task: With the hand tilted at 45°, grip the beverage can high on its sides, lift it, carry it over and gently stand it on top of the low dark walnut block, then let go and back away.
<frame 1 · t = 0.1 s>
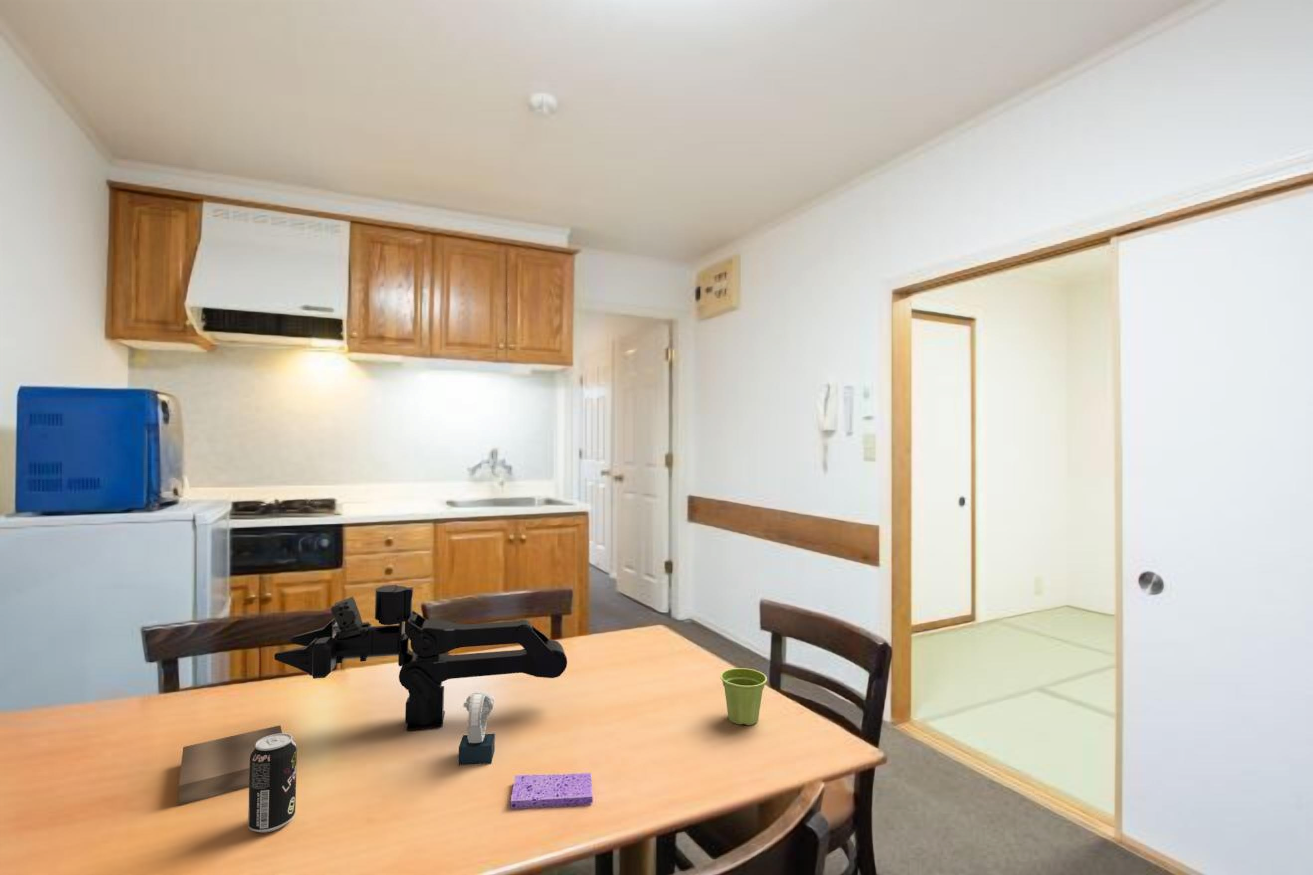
hand: (283, 647, 111), 17 cm above the table, tool horizontal, fingers open, 9 cm apart
beverage can: (271, 824, 86), on the table
plant pot: (742, 720, 121), on the table
walnut block: (234, 770, 99), on the table
watch: (476, 758, 105), on the table
sponges: (552, 797, 95), on the table
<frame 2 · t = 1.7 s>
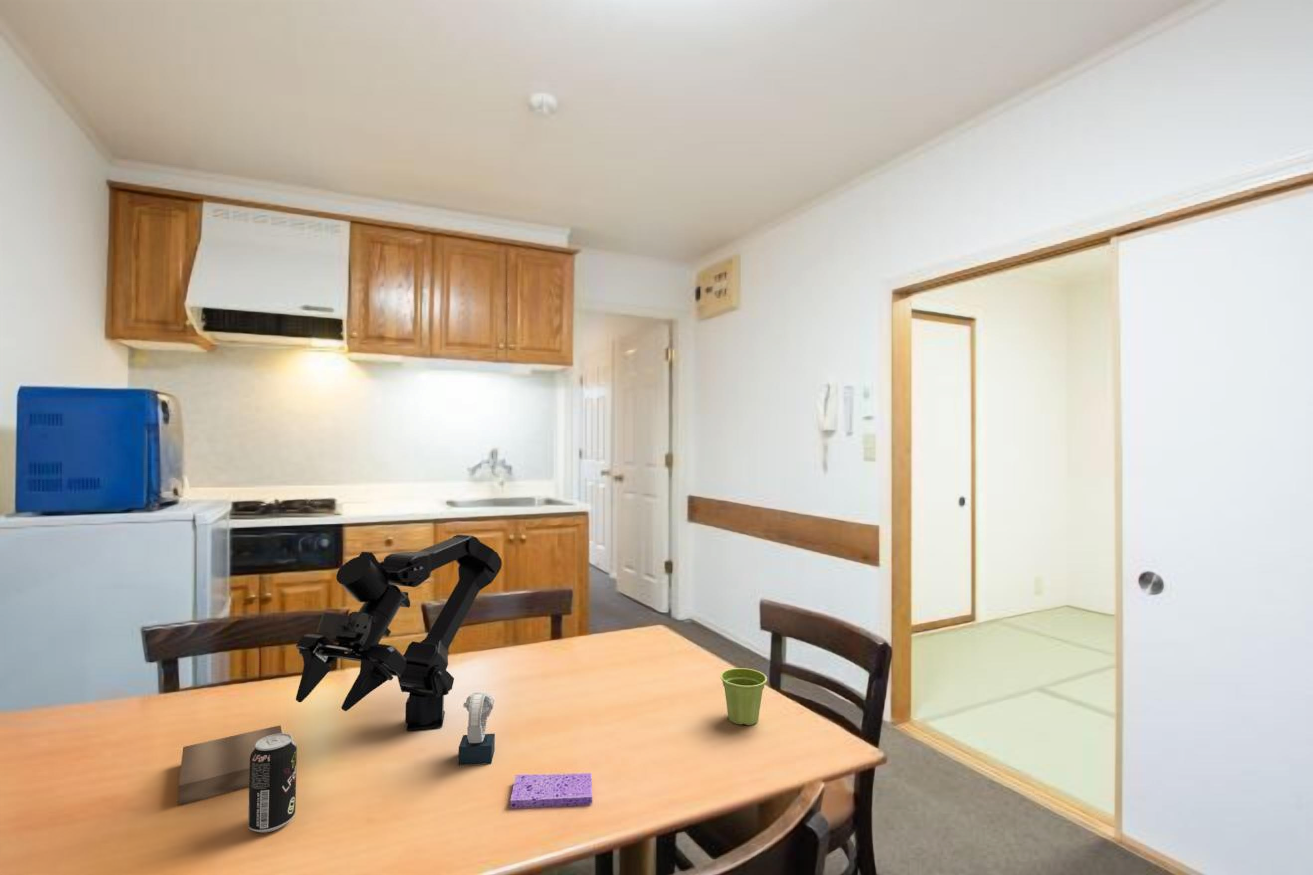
hand: (320, 705, 94), 14 cm above the table, tool tilted 45°, fingers open, 9 cm apart
nothing on the table moved.
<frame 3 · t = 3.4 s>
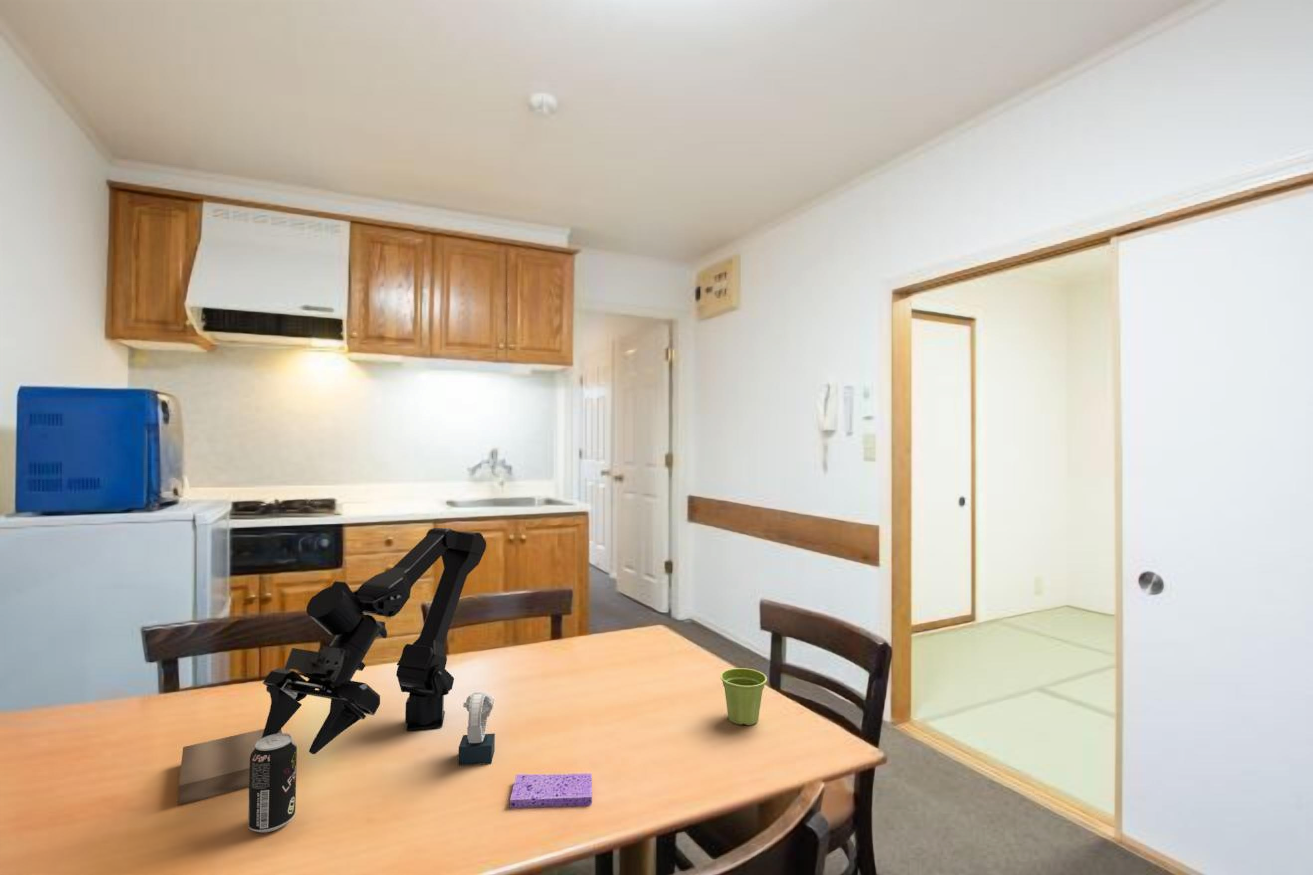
hand: (287, 747, 88), 10 cm above the table, tool tilted 45°, fingers open, 9 cm apart
nothing on the table moved.
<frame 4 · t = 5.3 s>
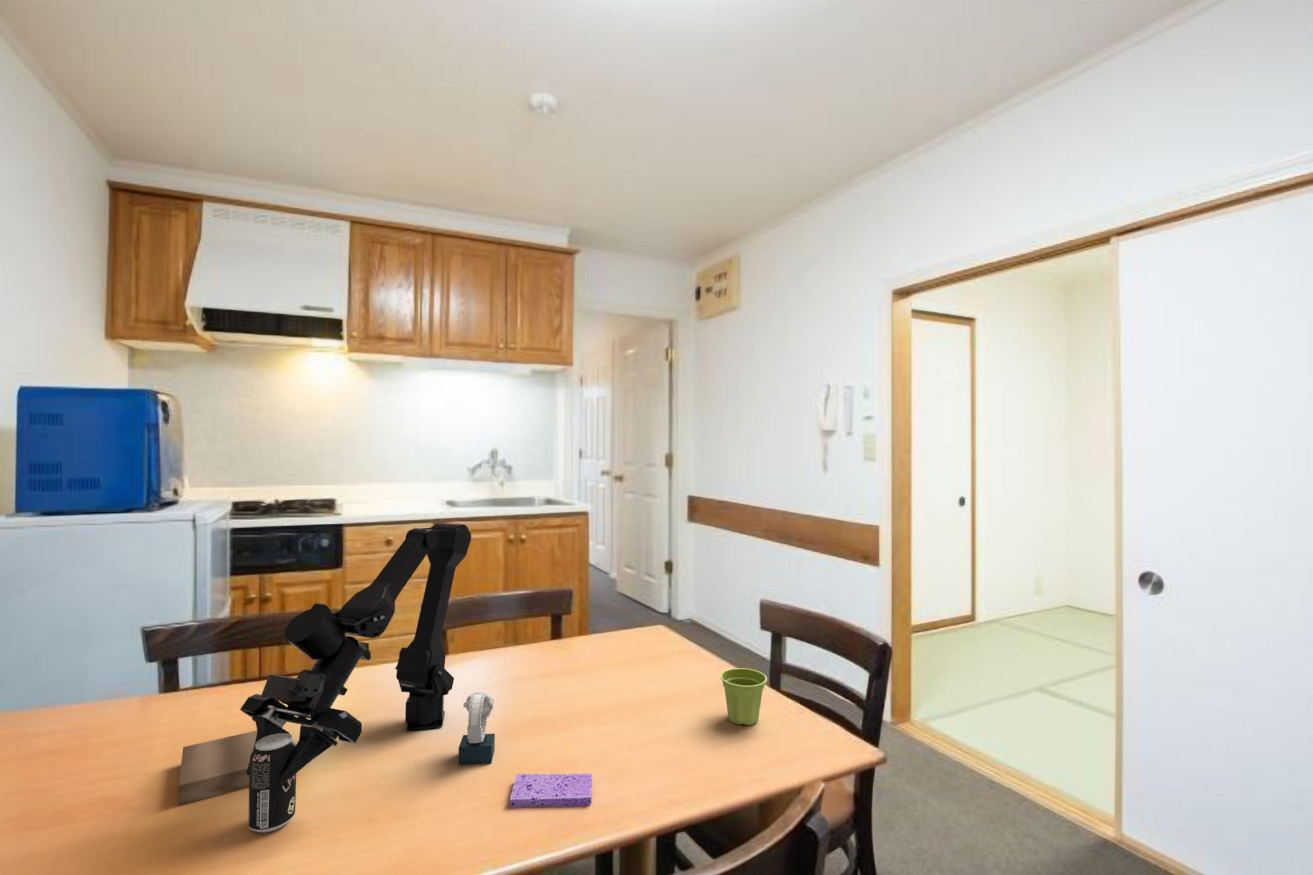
hand: (264, 779, 85), 7 cm above the table, tool tilted 45°, fingers closed on beverage can, 5 cm apart
beverage can: (271, 824, 86), on the table, touching gripper
everything else where it was.
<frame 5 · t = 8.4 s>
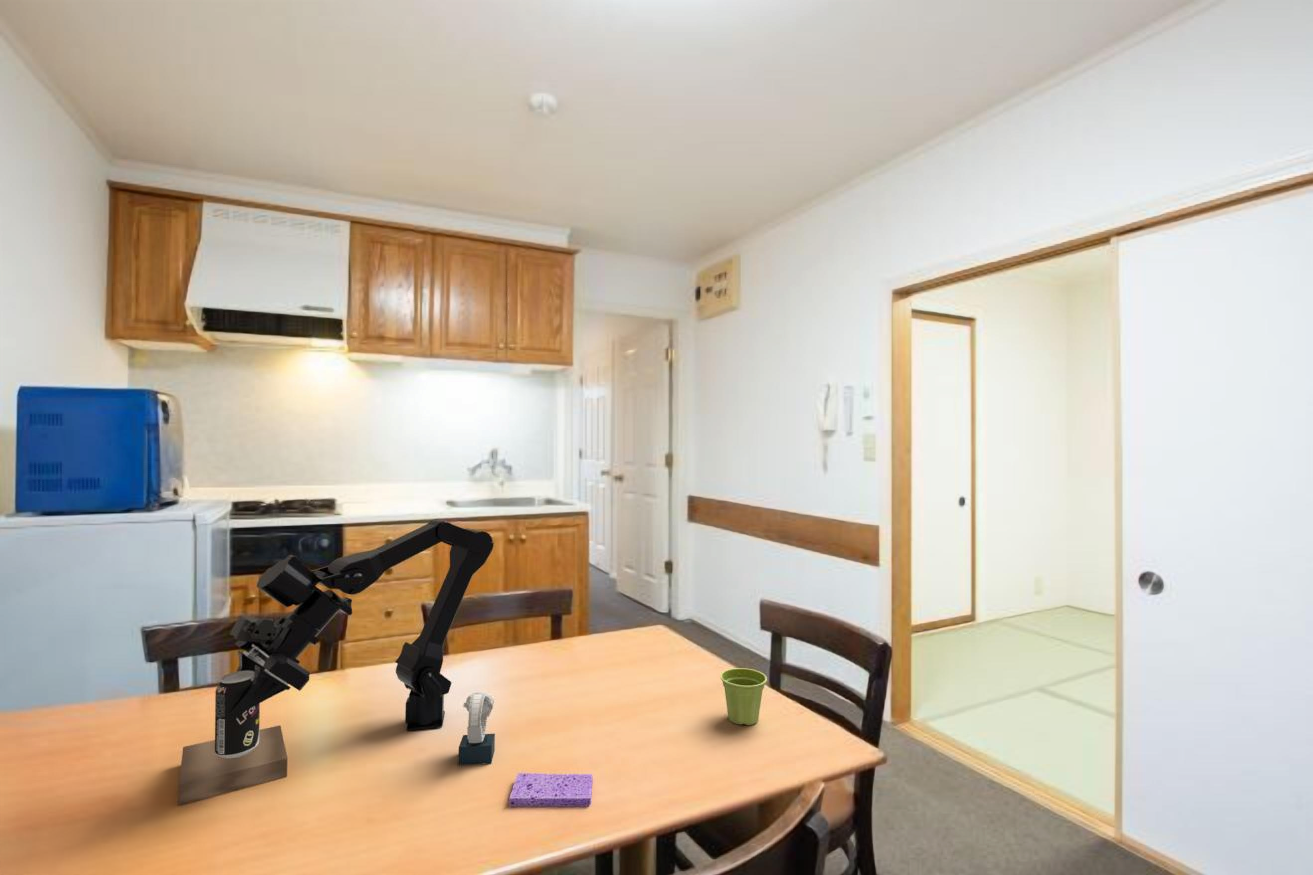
hand: (227, 708, 93), 13 cm above the table, tool tilted 45°, fingers closed on beverage can, 5 cm apart
beverage can: (237, 752, 94), point 6 cm above the table, touching gripper
everything else where it was.
when the fingers open (10 cm above the table, at t = 11.4 s): beverage can stays where it is, resting on walnut block.
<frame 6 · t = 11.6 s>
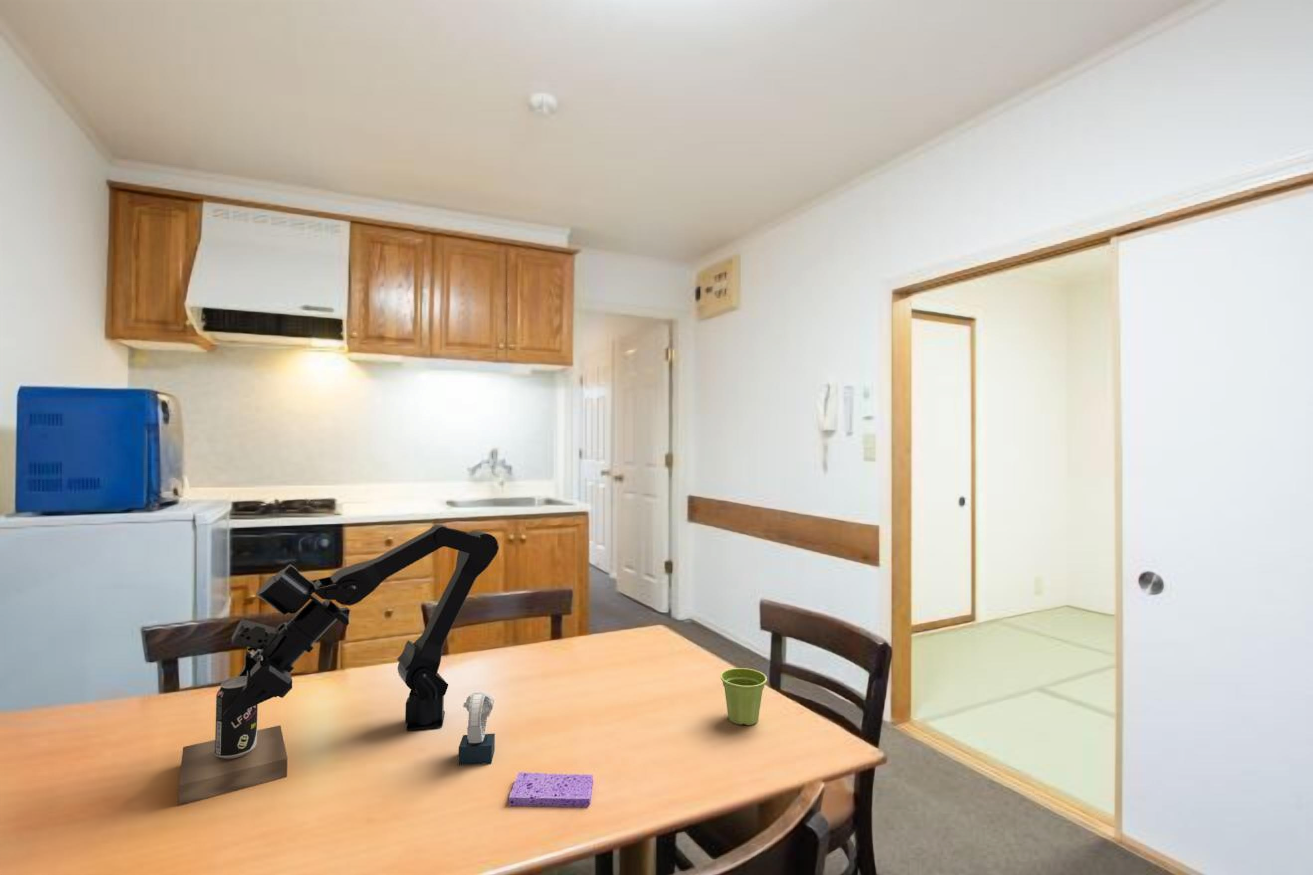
hand: (225, 708, 99), 11 cm above the table, tool tilted 45°, fingers open, 7 cm apart
beverage can: (236, 753, 99), point 3 cm above the table, touching walnut block
everything else where it was.
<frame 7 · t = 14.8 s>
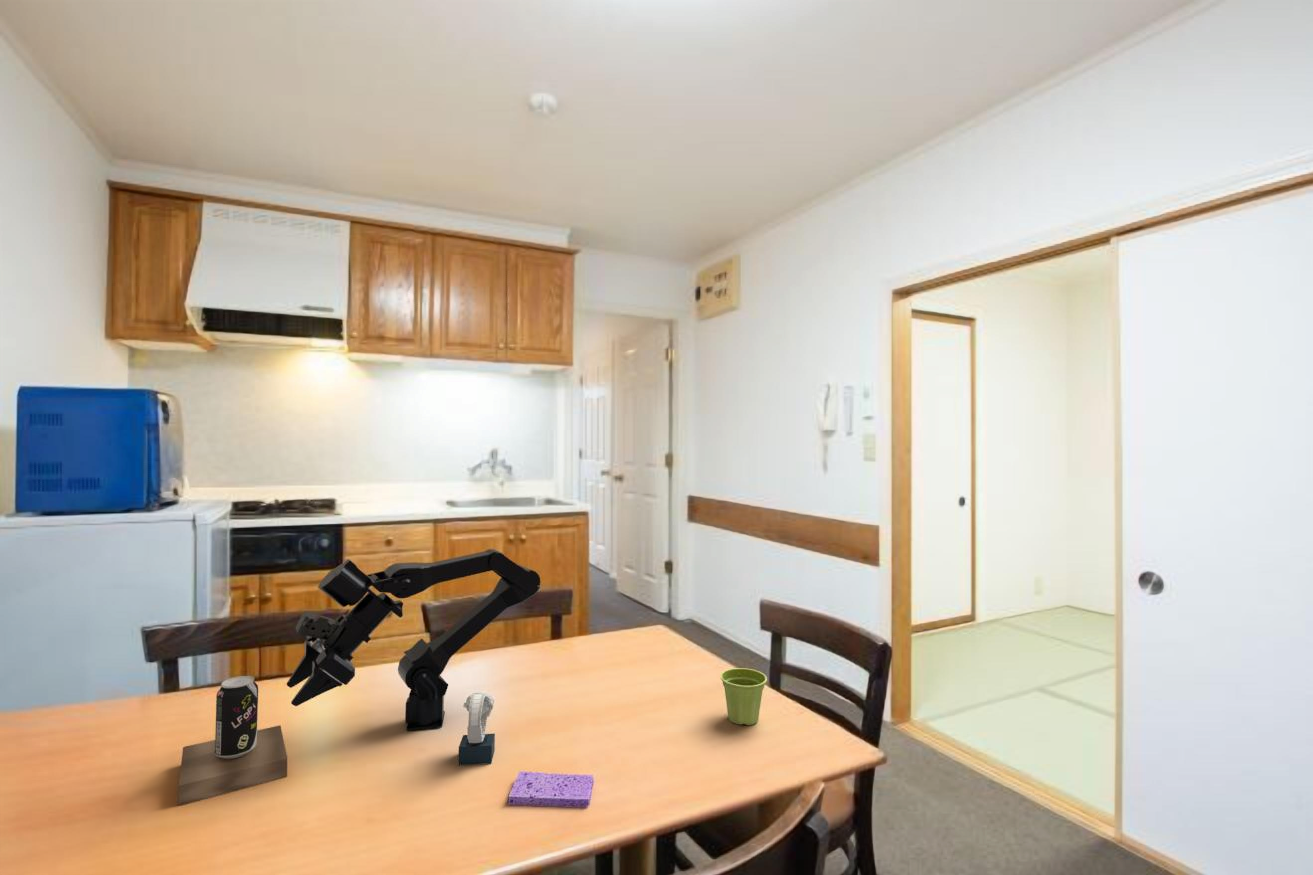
hand: (290, 695, 104), 11 cm above the table, tool tilted 45°, fingers open, 9 cm apart
nothing on the table moved.
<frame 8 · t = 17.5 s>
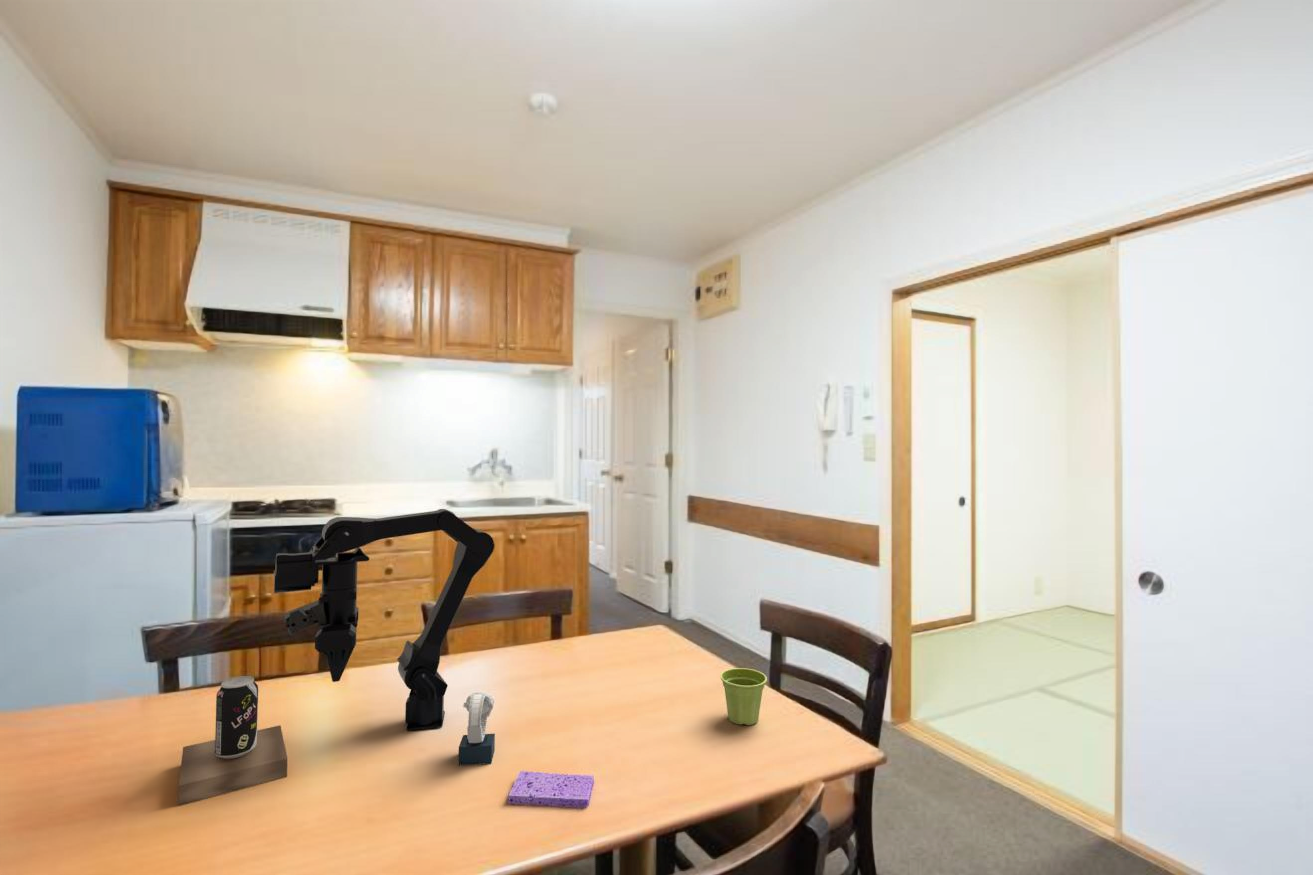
hand: (337, 672, 109), 13 cm above the table, tool pointing down, fingers open, 9 cm apart
nothing on the table moved.
at the end: beverage can inside the target area on the walnut block (0.3 cm from its centre), point 2.8 cm above the walnut block's base; beverage can tilted 0°; the gripper is holding nothing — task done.
